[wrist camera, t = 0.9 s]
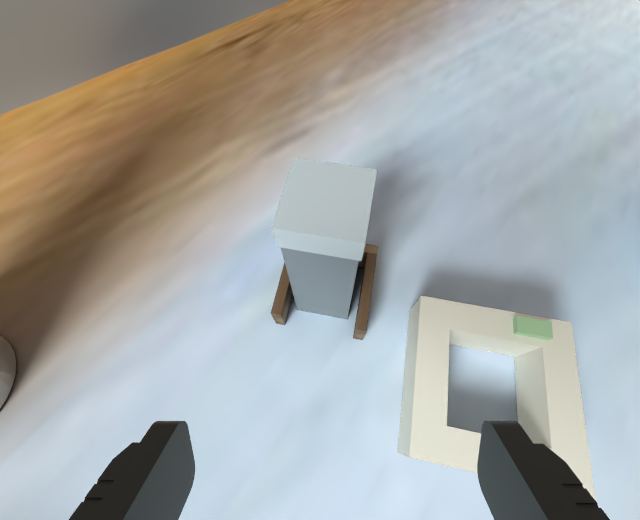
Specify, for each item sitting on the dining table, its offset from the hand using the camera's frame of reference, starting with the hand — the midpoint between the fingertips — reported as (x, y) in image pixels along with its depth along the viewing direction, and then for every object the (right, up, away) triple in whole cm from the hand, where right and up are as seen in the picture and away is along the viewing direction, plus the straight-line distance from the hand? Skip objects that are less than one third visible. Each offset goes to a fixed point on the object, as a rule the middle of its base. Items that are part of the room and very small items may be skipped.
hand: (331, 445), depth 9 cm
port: (+12, -5, +17) cm, 22 cm away
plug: (0, +2, +21) cm, 21 cm away
